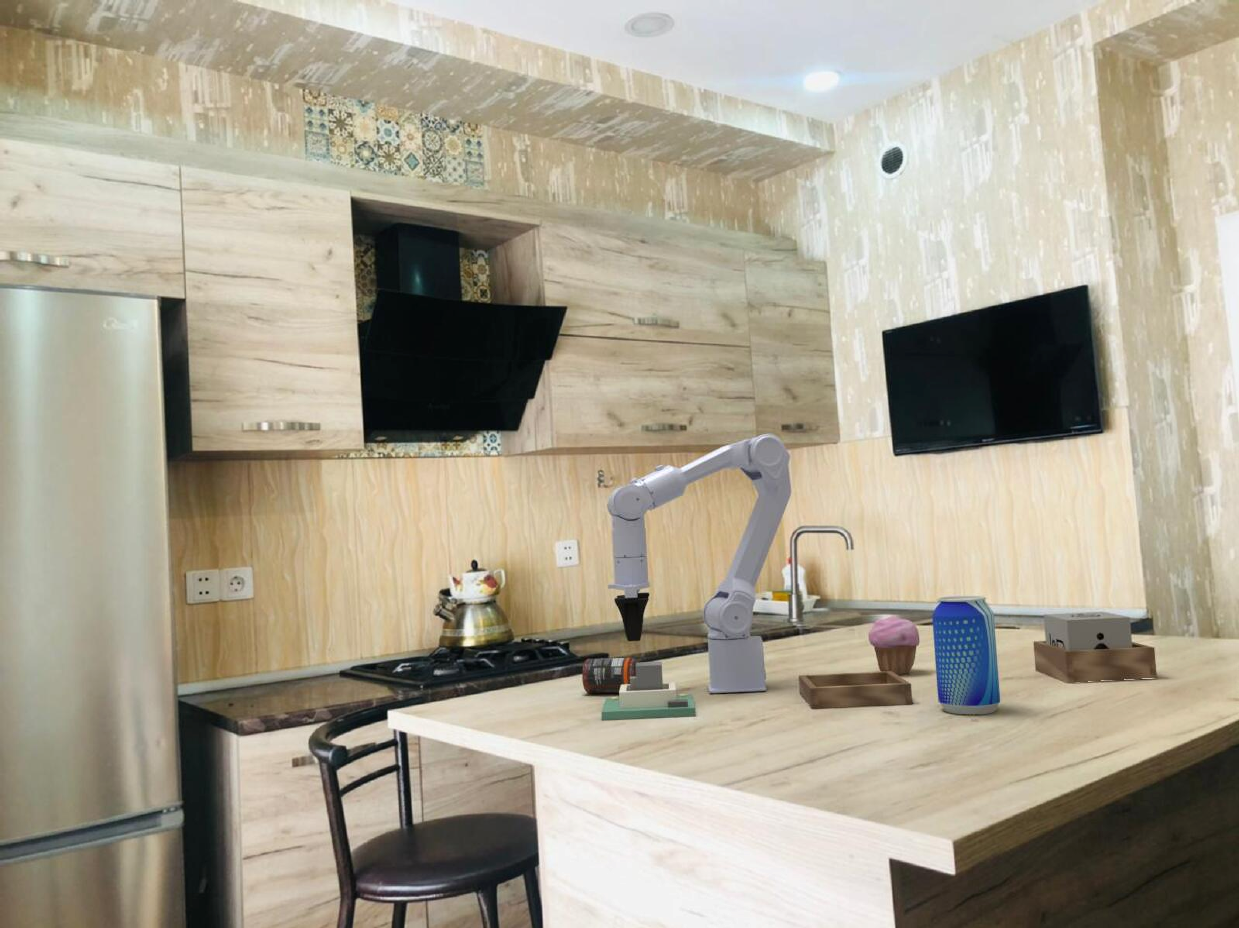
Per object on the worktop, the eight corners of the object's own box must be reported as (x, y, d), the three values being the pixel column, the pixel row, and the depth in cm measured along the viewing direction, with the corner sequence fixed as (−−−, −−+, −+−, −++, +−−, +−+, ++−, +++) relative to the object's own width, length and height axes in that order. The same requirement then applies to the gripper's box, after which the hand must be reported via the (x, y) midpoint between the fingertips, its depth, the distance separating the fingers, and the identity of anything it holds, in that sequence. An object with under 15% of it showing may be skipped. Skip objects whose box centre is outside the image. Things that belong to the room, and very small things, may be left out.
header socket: (675, 697, 162) (674, 682, 162) (676, 706, 154) (675, 690, 154) (621, 699, 162) (621, 684, 162) (620, 708, 154) (619, 692, 154)
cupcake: (862, 672, 185) (859, 617, 185) (905, 668, 187) (902, 613, 187) (887, 679, 176) (883, 620, 176) (931, 674, 178) (927, 617, 179)
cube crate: (1117, 666, 176) (1115, 637, 176) (1157, 679, 162) (1154, 647, 162) (1035, 670, 176) (1033, 641, 177) (1067, 683, 162) (1065, 651, 163)
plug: (663, 699, 160) (661, 661, 160) (663, 704, 156) (661, 665, 156) (632, 701, 160) (630, 662, 160) (631, 706, 156) (629, 666, 156)
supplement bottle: (591, 688, 181) (653, 688, 178) (582, 697, 175) (646, 697, 172) (589, 654, 180) (651, 654, 178) (580, 663, 175) (644, 662, 172)
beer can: (1010, 707, 145) (1002, 595, 146) (986, 718, 139) (977, 600, 140) (954, 703, 151) (946, 595, 152) (928, 712, 145) (920, 600, 146)
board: (692, 701, 164) (692, 689, 164) (695, 716, 152) (694, 702, 152) (606, 705, 164) (605, 693, 164) (601, 720, 152) (601, 706, 152)
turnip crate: (892, 689, 165) (891, 671, 165) (912, 704, 152) (911, 683, 152) (799, 694, 165) (798, 675, 166) (811, 708, 153) (810, 688, 153)
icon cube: (1048, 673, 173) (1043, 614, 174) (1107, 670, 173) (1103, 611, 174) (1071, 682, 163) (1066, 620, 164) (1135, 680, 163) (1129, 617, 164)
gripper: (608, 556, 179) (612, 634, 178) (604, 559, 164) (608, 644, 163) (648, 554, 178) (653, 632, 178) (647, 557, 164) (652, 642, 163)
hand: (634, 638), depth 171 cm, fingers open, 7 cm apart
